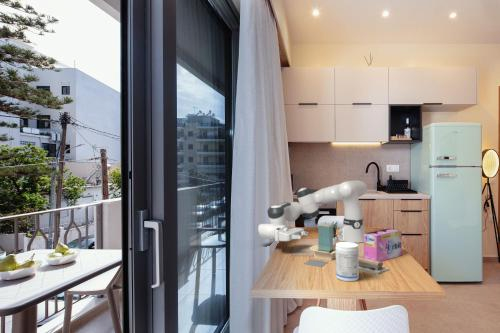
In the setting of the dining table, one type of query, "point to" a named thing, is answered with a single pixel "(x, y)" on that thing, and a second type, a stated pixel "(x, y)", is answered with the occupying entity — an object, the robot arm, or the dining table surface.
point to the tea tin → (325, 237)
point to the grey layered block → (371, 266)
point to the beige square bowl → (323, 253)
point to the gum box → (382, 244)
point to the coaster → (316, 263)
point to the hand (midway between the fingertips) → (304, 235)
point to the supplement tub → (347, 261)
